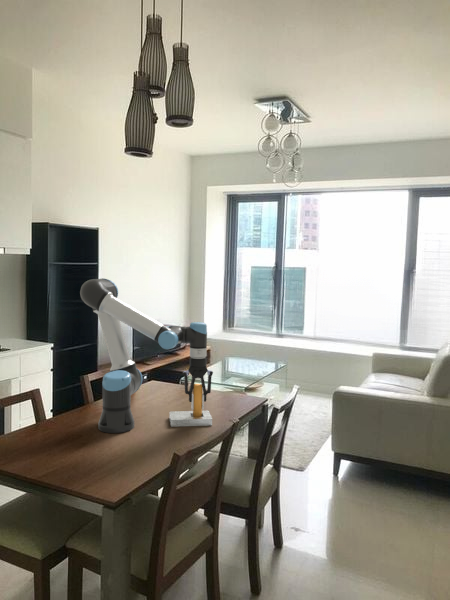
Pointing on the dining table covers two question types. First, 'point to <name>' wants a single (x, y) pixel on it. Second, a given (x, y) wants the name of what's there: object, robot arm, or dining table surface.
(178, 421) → the white peg hole block
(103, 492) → the dining table surface
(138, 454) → the dining table surface
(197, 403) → the pin
